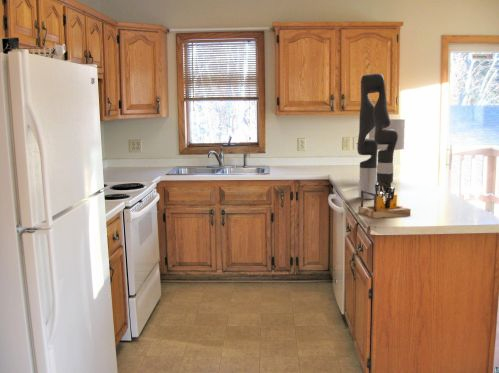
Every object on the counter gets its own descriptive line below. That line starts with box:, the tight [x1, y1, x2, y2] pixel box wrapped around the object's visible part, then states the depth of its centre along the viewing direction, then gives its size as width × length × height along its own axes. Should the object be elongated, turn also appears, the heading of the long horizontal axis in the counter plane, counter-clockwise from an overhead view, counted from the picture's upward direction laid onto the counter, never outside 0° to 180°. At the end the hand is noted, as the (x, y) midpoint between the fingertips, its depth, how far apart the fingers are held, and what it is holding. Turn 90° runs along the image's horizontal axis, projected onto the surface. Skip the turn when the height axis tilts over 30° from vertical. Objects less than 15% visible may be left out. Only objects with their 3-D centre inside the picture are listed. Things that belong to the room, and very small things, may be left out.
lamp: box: [368, 118, 406, 184], centre depth 349 cm, size 23×23×42 cm
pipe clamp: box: [376, 193, 398, 210], centre depth 250 cm, size 12×4×6 cm, turn 124°
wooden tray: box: [358, 190, 412, 219], centre depth 249 cm, size 15×19×11 cm
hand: (384, 206), depth 250 cm, fingers closed on pipe clamp, 5 cm apart
